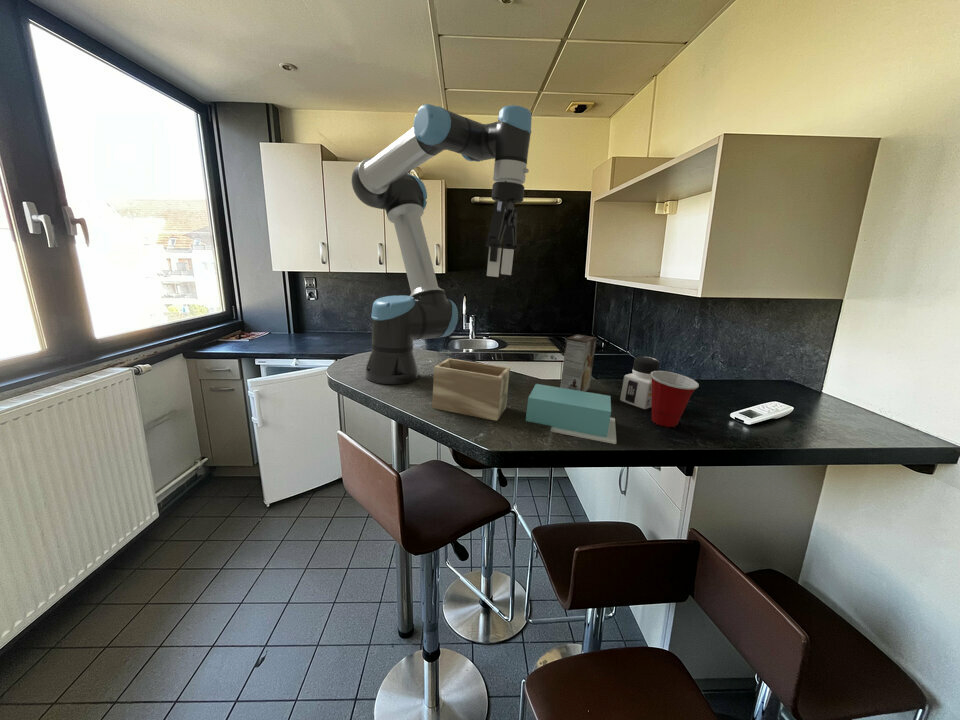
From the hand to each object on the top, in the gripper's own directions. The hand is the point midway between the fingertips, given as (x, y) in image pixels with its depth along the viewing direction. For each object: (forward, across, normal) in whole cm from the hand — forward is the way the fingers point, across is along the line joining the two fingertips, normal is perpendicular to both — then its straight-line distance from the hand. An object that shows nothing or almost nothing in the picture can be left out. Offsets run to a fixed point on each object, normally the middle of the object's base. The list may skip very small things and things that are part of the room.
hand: (499, 275), depth 98 cm
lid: (+31, -8, -22) cm, 39 cm away
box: (+32, -12, +1) cm, 34 cm away
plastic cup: (+32, +3, -45) cm, 55 cm away
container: (+32, +16, -40) cm, 53 cm away
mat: (+32, -8, -22) cm, 39 cm away
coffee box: (+32, +18, -22) cm, 43 cm away
